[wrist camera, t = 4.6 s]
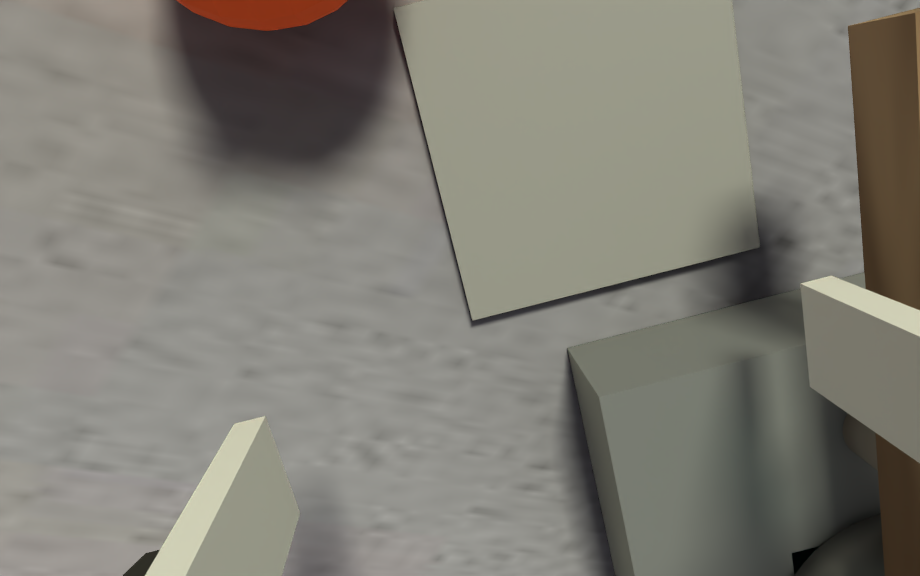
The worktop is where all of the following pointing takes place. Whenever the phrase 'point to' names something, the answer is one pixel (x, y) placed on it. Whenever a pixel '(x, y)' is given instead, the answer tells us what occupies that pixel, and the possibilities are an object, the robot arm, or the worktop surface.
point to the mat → (581, 140)
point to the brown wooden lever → (889, 240)
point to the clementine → (263, 12)
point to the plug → (845, 553)
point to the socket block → (717, 444)
